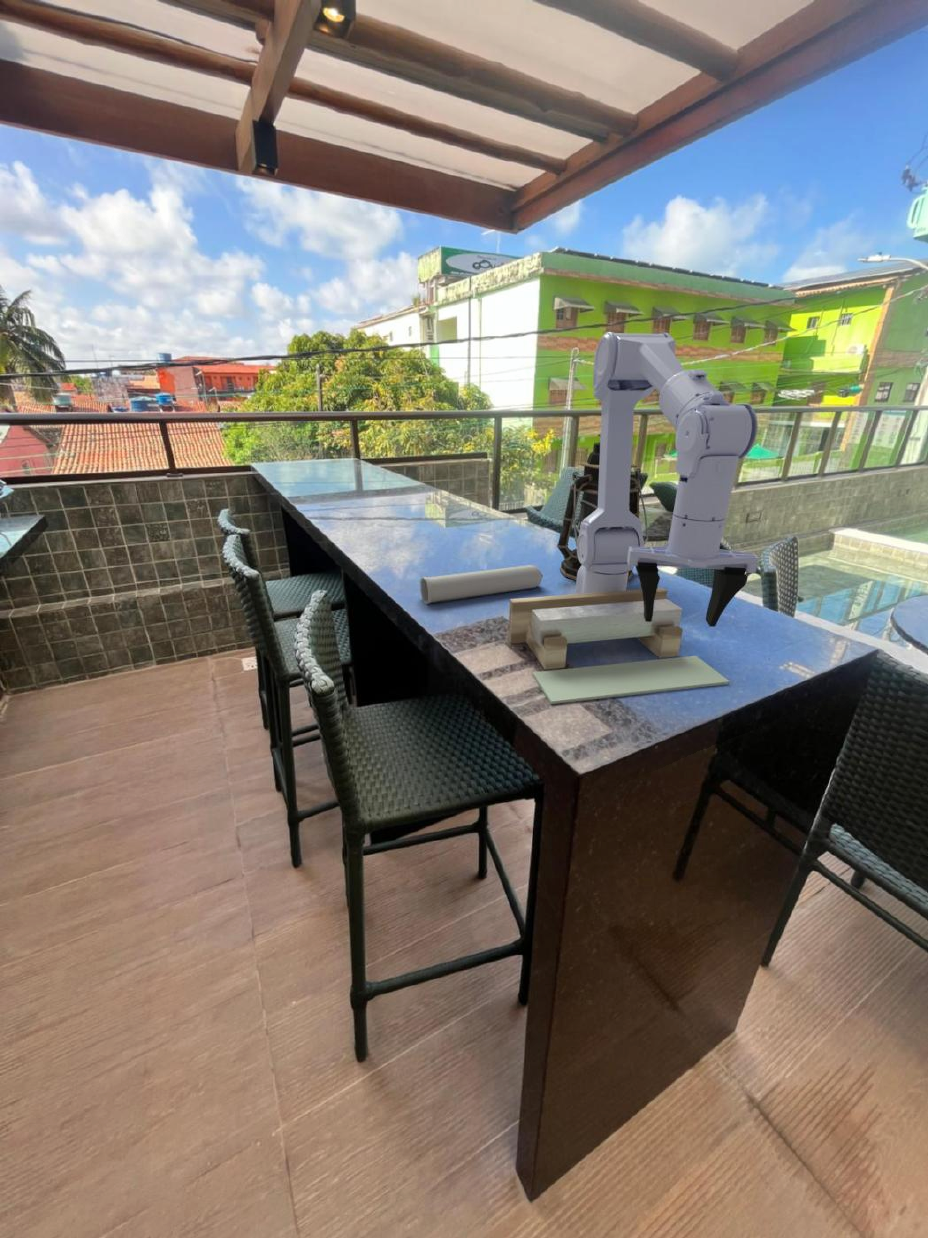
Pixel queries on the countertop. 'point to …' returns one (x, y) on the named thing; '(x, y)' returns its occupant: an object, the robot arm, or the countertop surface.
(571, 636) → the rail
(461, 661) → the countertop surface
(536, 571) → the tube
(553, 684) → the mat
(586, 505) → the lantern
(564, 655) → the rail stand
